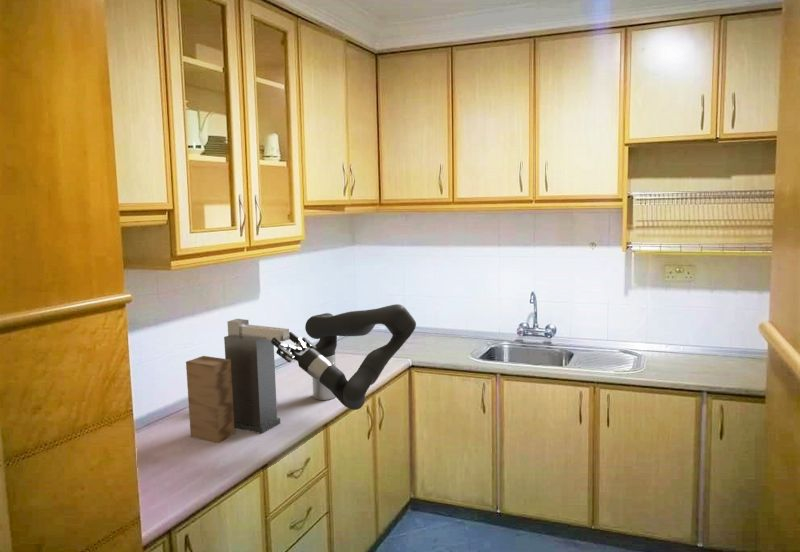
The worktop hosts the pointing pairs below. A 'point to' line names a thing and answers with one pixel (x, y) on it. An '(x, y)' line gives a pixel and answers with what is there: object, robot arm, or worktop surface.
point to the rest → (210, 398)
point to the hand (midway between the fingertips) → (280, 336)
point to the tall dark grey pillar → (252, 383)
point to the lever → (256, 330)
